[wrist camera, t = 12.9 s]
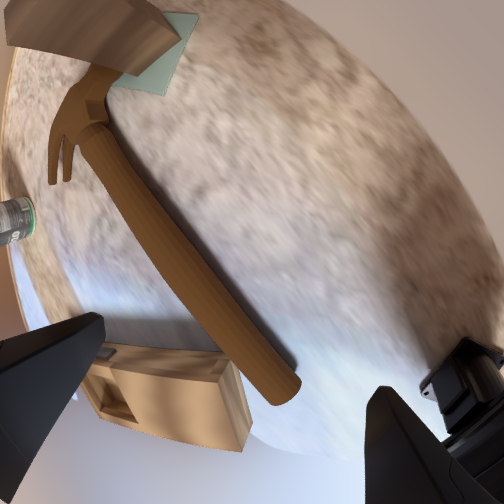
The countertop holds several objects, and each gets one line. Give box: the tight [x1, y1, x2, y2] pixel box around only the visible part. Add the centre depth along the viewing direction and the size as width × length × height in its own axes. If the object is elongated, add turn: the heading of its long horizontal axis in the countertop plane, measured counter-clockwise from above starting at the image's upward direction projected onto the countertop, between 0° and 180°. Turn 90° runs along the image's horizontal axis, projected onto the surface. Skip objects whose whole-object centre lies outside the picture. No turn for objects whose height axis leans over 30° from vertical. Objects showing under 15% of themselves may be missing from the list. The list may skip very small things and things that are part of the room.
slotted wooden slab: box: [80, 342, 253, 452], centre depth 25 cm, size 18×9×4 cm, turn 100°
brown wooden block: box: [4, 0, 182, 77], centre depth 11 cm, size 4×4×12 cm
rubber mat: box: [111, 12, 199, 96], centre depth 18 cm, size 9×7×1 cm
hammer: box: [48, 63, 302, 406], centre depth 20 cm, size 12×3×30 cm
